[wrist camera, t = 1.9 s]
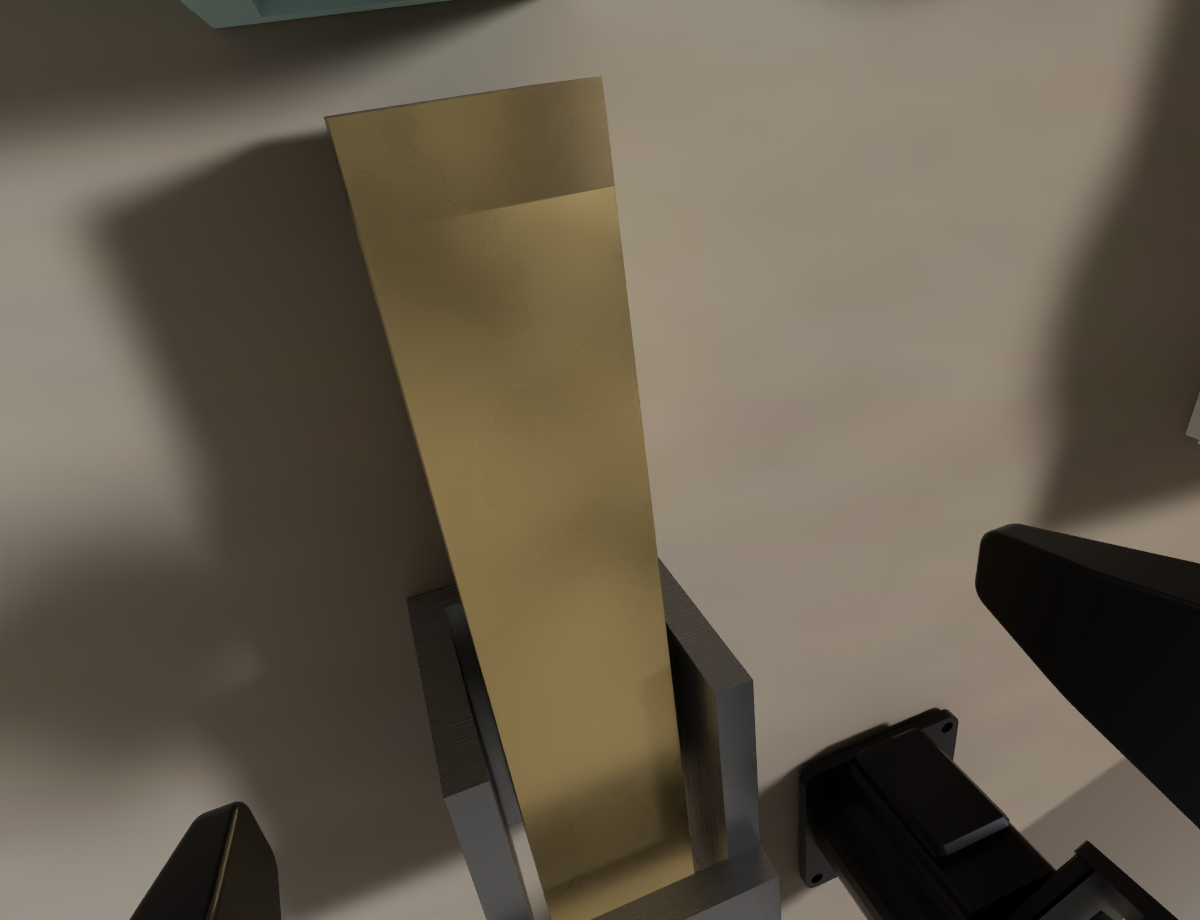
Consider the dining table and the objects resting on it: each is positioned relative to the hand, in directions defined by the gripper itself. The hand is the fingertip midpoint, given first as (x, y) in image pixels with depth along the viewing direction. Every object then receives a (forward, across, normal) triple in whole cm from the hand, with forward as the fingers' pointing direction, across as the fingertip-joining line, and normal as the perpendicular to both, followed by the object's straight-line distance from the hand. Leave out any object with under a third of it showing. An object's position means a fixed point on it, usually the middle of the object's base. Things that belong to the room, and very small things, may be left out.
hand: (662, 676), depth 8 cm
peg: (+8, 0, +3) cm, 9 cm away
